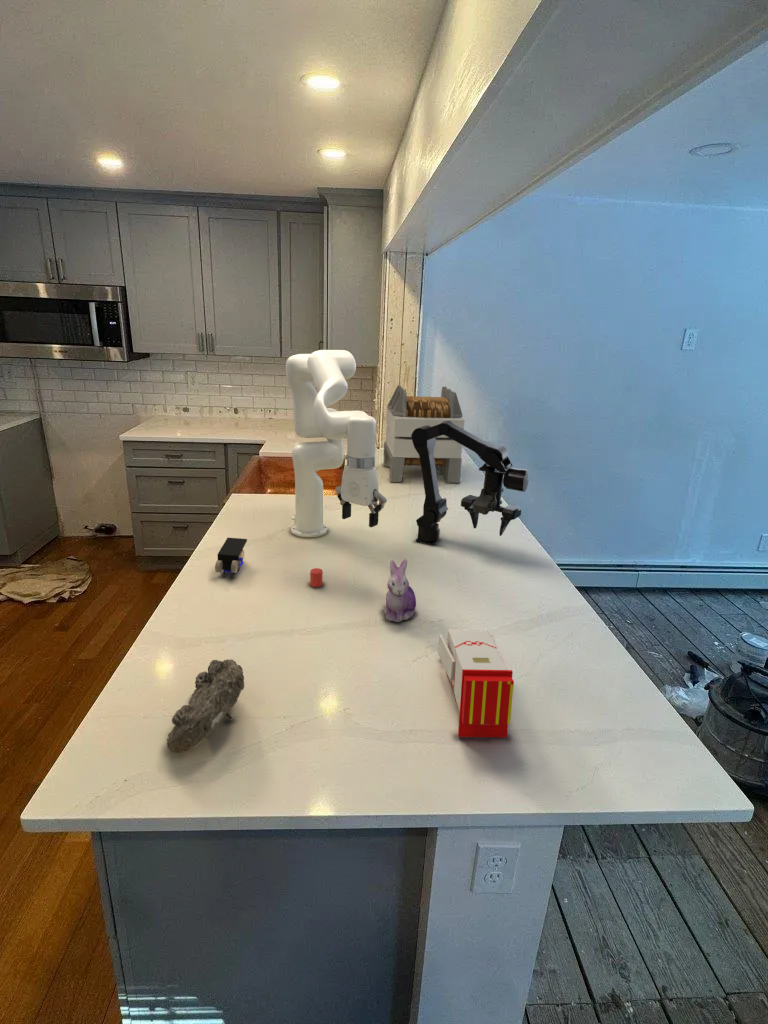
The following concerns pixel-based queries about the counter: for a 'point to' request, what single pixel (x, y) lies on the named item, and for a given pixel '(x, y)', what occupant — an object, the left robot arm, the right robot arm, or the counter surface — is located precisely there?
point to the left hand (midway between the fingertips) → (359, 521)
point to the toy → (478, 682)
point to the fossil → (206, 705)
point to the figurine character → (230, 556)
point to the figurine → (399, 594)
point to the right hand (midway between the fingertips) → (487, 531)
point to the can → (316, 577)
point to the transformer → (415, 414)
